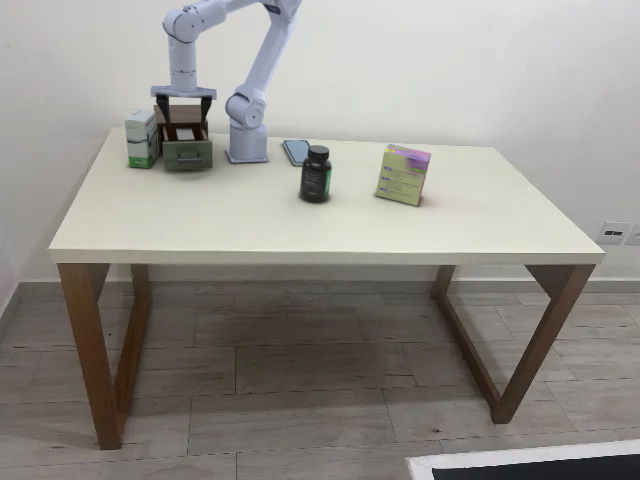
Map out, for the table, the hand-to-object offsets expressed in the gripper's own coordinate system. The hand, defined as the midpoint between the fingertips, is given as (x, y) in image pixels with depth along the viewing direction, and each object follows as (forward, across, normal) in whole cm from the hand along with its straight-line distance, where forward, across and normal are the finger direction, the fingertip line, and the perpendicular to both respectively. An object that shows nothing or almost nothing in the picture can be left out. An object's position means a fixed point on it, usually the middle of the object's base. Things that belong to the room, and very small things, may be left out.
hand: (185, 127), depth 118 cm
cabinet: (+10, -2, +15) cm, 18 cm away
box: (+11, +51, -14) cm, 54 cm away
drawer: (+10, 0, +1) cm, 10 cm away
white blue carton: (+8, 0, +3) cm, 9 cm away
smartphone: (+10, +30, +10) cm, 33 cm away
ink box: (+11, -11, +3) cm, 15 cm away
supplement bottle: (+11, +30, -14) cm, 35 cm away
